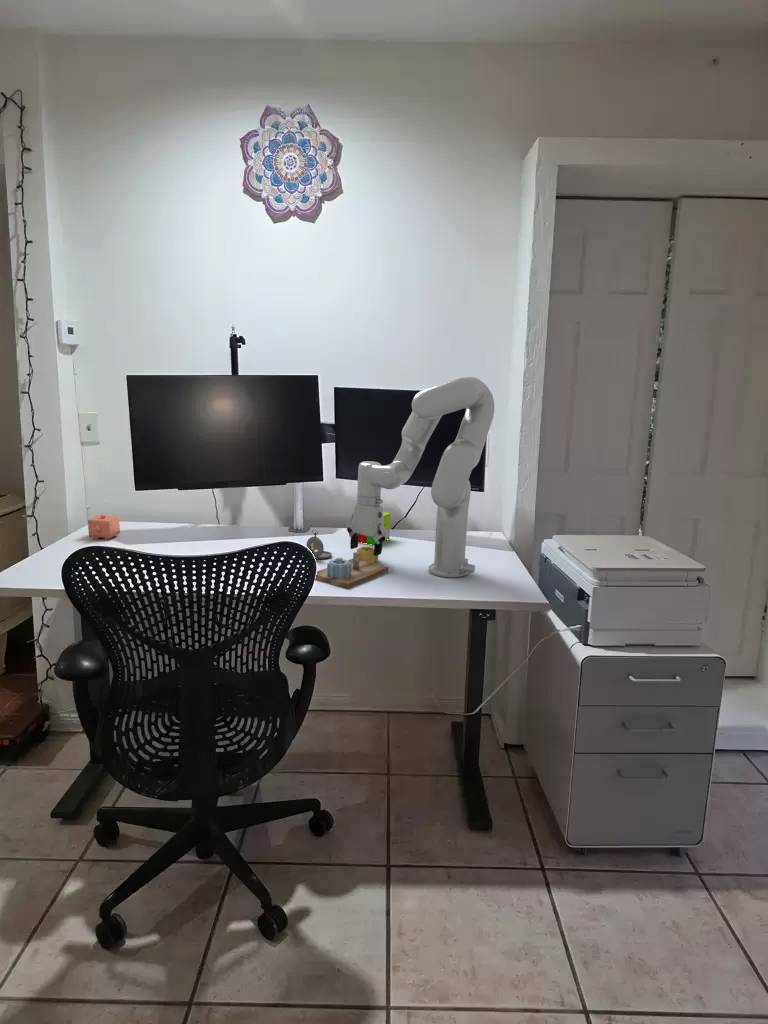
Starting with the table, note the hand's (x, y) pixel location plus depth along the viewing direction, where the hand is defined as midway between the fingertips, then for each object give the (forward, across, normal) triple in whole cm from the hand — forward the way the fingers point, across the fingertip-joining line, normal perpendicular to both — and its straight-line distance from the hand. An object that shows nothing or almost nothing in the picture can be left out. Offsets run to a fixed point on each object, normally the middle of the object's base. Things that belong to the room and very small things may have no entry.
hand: (365, 551), depth 214 cm
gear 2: (+3, -1, 0) cm, 3 cm away
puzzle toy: (+4, +13, -20) cm, 24 cm away
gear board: (+3, -6, +15) cm, 16 cm away
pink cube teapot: (+6, +84, +41) cm, 94 cm away
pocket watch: (+4, +13, +8) cm, 16 cm away
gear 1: (+2, -6, +20) cm, 21 cm away
